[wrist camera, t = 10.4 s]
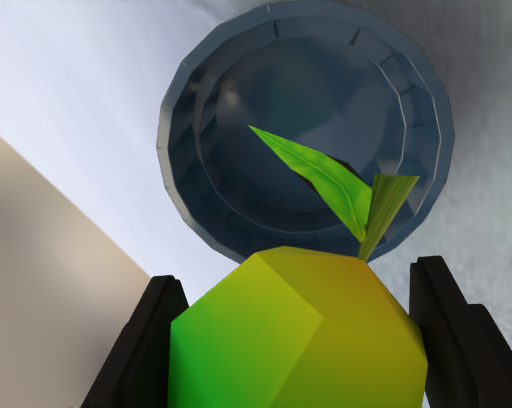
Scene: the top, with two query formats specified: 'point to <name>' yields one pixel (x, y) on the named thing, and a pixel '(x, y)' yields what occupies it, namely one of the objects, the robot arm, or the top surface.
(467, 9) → the top surface
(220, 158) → the bowl
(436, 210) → the top surface
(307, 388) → the apple
